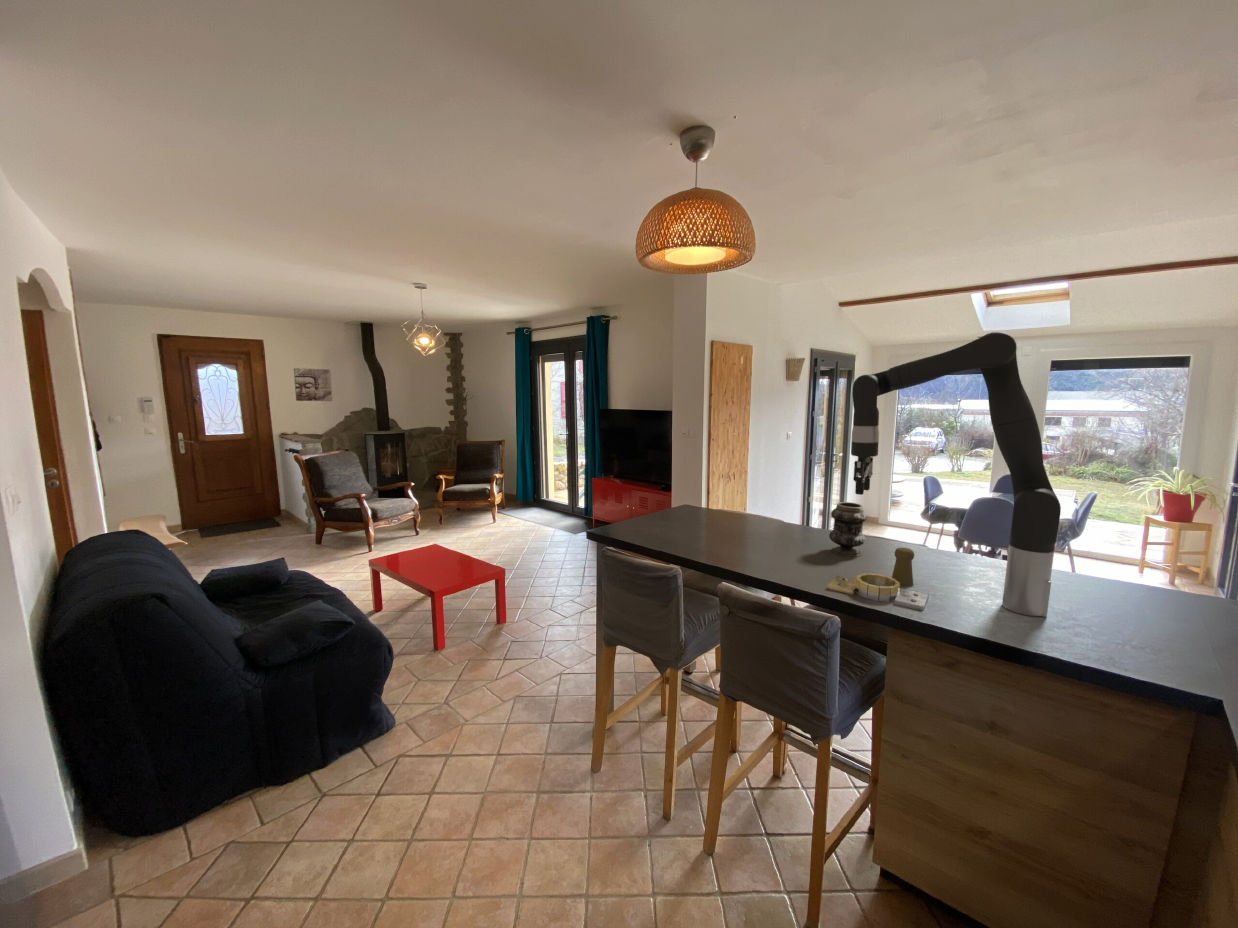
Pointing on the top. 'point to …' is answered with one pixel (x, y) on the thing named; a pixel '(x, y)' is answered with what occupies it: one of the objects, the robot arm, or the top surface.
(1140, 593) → the top surface
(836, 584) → the brass hinge leaf
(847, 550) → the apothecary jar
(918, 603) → the steel hinge leaf
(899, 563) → the cork
